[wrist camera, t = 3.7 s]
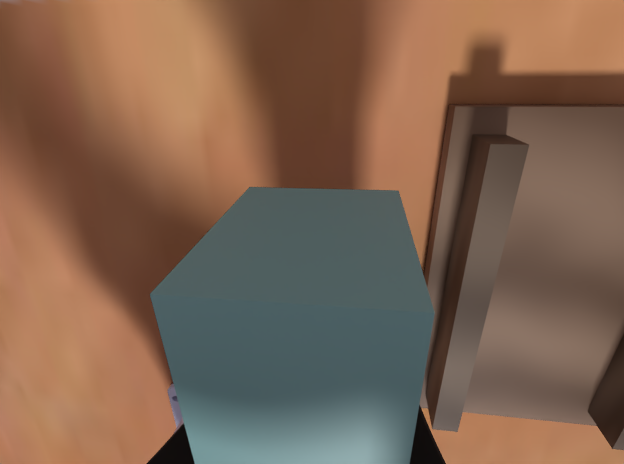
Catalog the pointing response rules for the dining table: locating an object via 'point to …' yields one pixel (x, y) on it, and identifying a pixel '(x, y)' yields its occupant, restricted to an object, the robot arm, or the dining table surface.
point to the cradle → (528, 267)
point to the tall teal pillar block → (299, 330)
